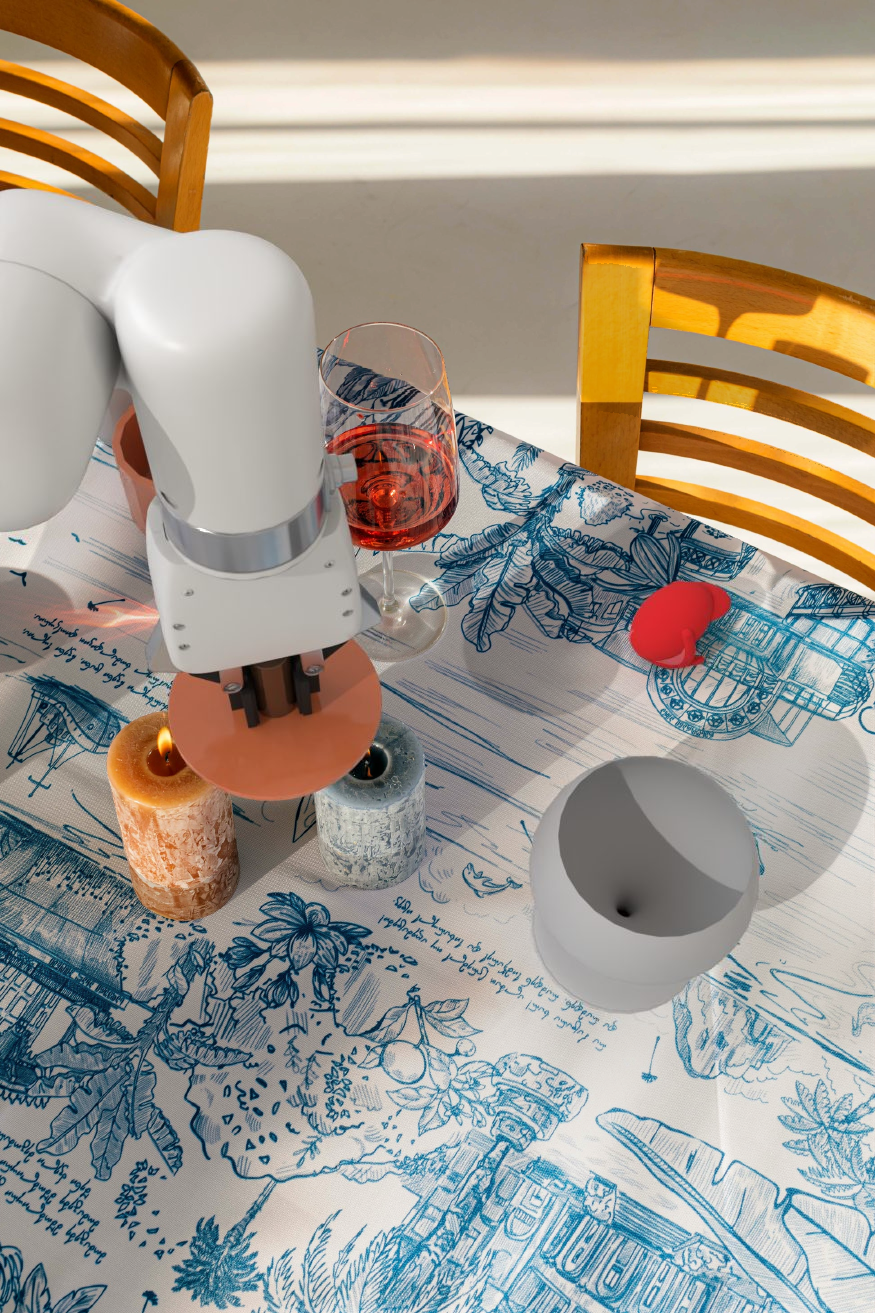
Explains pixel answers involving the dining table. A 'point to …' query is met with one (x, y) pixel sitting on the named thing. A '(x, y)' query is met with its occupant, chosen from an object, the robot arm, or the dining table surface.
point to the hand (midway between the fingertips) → (275, 699)
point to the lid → (279, 727)
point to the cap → (676, 622)
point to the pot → (133, 467)
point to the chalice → (639, 882)
